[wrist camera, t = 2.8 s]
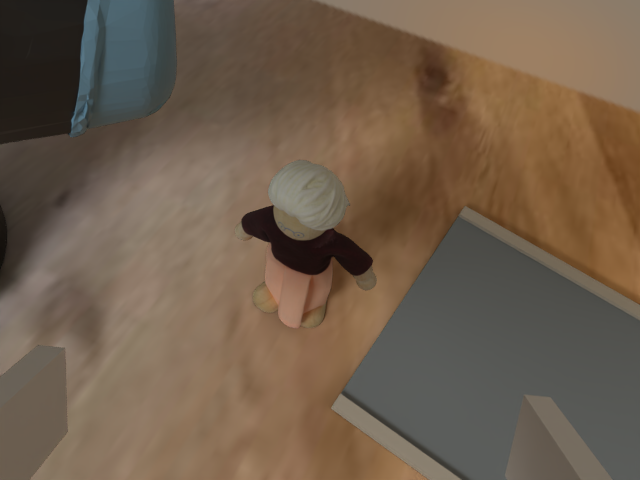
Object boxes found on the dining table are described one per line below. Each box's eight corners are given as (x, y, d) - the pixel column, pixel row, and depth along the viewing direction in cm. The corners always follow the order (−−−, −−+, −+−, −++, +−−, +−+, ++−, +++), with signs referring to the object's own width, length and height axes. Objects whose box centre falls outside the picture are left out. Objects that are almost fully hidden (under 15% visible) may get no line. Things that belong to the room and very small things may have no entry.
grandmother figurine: (228, 318, 30) (196, 196, 19) (246, 262, 32) (227, 121, 21) (356, 347, 30) (399, 240, 19) (367, 288, 31) (412, 159, 20)
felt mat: (331, 408, 28) (332, 405, 27) (461, 211, 35) (464, 205, 34) (611, 611, 24) (619, 613, 23) (694, 344, 31) (703, 340, 30)
